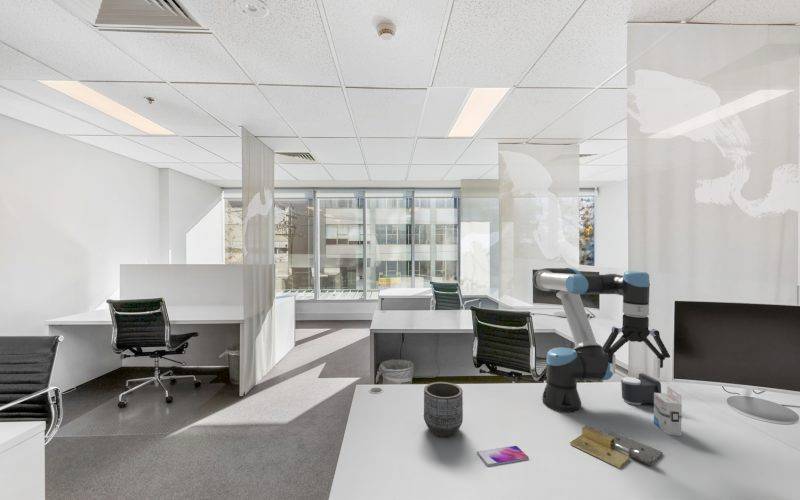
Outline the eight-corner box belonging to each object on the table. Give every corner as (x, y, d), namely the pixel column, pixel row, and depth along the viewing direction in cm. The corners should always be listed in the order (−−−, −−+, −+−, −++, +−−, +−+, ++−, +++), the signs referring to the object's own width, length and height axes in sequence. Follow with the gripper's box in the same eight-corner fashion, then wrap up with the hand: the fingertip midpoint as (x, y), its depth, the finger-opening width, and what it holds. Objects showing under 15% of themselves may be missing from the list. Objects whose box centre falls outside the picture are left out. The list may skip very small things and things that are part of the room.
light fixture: (615, 398, 148) (614, 374, 148) (644, 396, 148) (642, 372, 148) (633, 409, 137) (632, 383, 137) (664, 407, 137) (662, 381, 137)
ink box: (653, 422, 125) (653, 384, 125) (667, 424, 124) (667, 385, 124) (666, 434, 117) (666, 393, 117) (682, 436, 116) (682, 394, 116)
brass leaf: (570, 444, 111) (569, 435, 111) (586, 433, 117) (586, 425, 117) (619, 468, 98) (619, 458, 98) (634, 455, 105) (634, 445, 105)
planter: (466, 424, 123) (466, 385, 123) (456, 445, 110) (457, 401, 110) (431, 416, 129) (431, 379, 129) (418, 435, 116) (418, 393, 116)
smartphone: (475, 451, 106) (516, 445, 110) (475, 454, 106) (516, 447, 110) (486, 465, 99) (529, 457, 103) (486, 468, 99) (529, 460, 103)
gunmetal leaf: (596, 443, 111) (596, 434, 111) (611, 433, 118) (611, 424, 118) (649, 467, 99) (649, 457, 99) (662, 454, 105) (662, 444, 105)
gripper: (599, 315, 115) (598, 374, 116) (683, 319, 109) (681, 382, 109) (592, 310, 122) (591, 366, 123) (671, 315, 116) (669, 373, 116)
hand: (634, 374), depth 116 cm, fingers open, 13 cm apart
